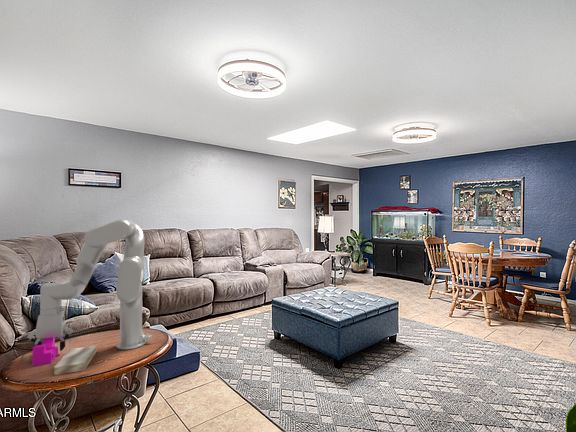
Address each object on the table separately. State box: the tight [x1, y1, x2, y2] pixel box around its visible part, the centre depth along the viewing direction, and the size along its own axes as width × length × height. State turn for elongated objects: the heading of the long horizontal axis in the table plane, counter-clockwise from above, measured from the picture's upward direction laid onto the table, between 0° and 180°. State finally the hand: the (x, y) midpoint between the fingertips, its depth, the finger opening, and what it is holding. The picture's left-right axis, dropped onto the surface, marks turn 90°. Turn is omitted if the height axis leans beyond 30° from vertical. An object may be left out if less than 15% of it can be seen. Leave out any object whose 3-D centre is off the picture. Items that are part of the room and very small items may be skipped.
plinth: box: [53, 345, 97, 376], centre depth 131 cm, size 10×19×3 cm, turn 20°
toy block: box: [32, 337, 59, 367], centre depth 137 cm, size 15×6×8 cm, turn 23°
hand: (50, 350), depth 139 cm, fingers open, 7 cm apart
